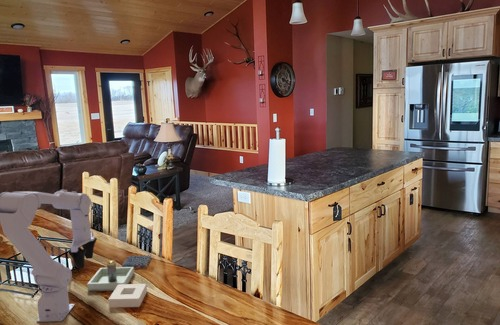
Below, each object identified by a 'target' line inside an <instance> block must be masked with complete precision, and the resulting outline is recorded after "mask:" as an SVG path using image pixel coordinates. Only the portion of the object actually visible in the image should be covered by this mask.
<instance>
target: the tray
mask: <svg viewBox="0 0 500 325" xmlns="http://www.w3.org/2000/svg"><path fill="white" fill-rule="evenodd" d="M116 275H117V281H115V282H108V269H107V267H99V269H98V270H97V271H96V273H95V274H94V275H93V276H92V277H91V279H90V280H89V281H88V282H87V284H86V286H87V292H104V291H105V292H106V291H114V290H115V288H116V287H117V285H119V284H130V281H131V280H132V278H133V277H134V275H135V269H134V267H122V266H121V267H120V266H119V267H117V266H116Z"/></svg>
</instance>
